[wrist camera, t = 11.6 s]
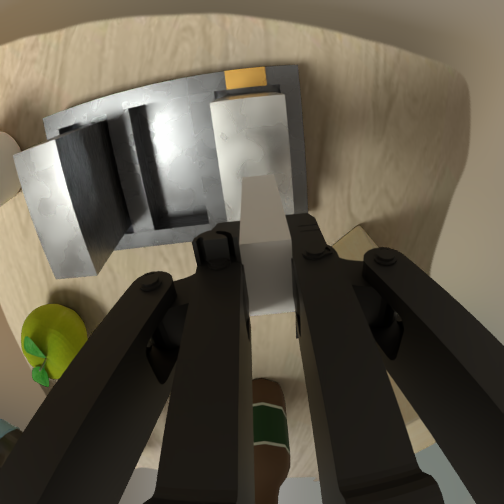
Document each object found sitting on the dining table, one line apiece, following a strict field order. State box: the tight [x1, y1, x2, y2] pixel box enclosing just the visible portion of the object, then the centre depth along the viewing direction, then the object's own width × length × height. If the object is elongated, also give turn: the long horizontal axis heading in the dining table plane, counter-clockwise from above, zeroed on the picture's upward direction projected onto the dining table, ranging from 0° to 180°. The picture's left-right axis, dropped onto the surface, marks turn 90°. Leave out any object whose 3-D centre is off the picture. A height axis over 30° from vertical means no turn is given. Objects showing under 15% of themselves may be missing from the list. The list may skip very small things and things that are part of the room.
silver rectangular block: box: [210, 91, 294, 222], centre depth 22 cm, size 4×10×10 cm, turn 6°
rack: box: [13, 65, 308, 279], centre depth 23 cm, size 22×14×11 cm, turn 96°
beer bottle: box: [252, 378, 290, 504], centre depth 35 cm, size 8×8×24 cm
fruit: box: [21, 304, 88, 387], centre depth 33 cm, size 9×9×10 cm
